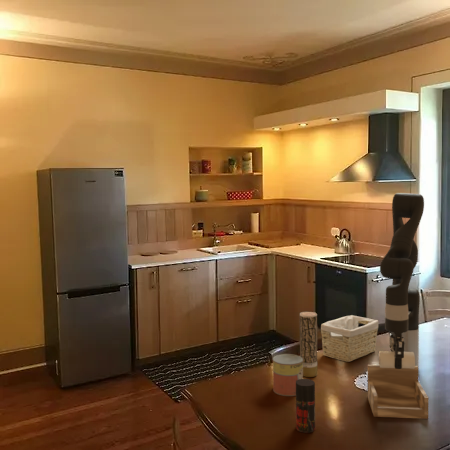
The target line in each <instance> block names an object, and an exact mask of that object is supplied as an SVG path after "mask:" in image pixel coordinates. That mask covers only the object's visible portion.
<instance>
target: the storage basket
mask: <svg viewBox="0 0 450 450" xmlns="http://www.w3.org/2000/svg"><path fill="white" fill-rule="evenodd" d="M359 324H363V325H362V326H359ZM378 330H379V320H378V319H373V318H372V319H371V318H368V317H362V316H357V315H353V314H351V315H346V316H342V317H339V318H336V319H332V320H328V321H326V322H324V323H321V325H320V334H321V344H322V346H321V347H322V354H323V356H324V357H325V356H326V357H329V358H332V359H335V360H337V361H338V360H339V361H342V362H347V363H349V362H353V361H354V360H357V359H360V358H362V357H365V356H367V355H369V354H371V353H374V352H375V351H376V345H377V337H378Z"/></svg>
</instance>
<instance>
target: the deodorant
mask: <svg viewBox="0 0 450 450" xmlns="http://www.w3.org/2000/svg"><path fill="white" fill-rule="evenodd" d="M295 426H296V427H295V429H296V430H297V431H298V432H300V433H303V434H304V433H305V434H309V433H313V432H314V431H316V382H315V381H314V380H313V379H309V378H303V379H299V380H297V381H296V396H295Z"/></svg>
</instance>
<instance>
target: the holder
mask: <svg viewBox="0 0 450 450" xmlns="http://www.w3.org/2000/svg"><path fill="white" fill-rule="evenodd" d="M429 398H430V397H429V396H428V395H427V393H426V391H425V390H424V388H423V386H422V384H421V383H420V381H419V365H418V366H415V368H414V369H409V368H401V369H395V368H380V366H379V364H367V400H368V403H369V405H370V409H371V413H372V415H373V418H374V417H375V418H376V417H377V418H378V417H379V418H402V419H425V420H427V419H429V401H430V400H429Z"/></svg>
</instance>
